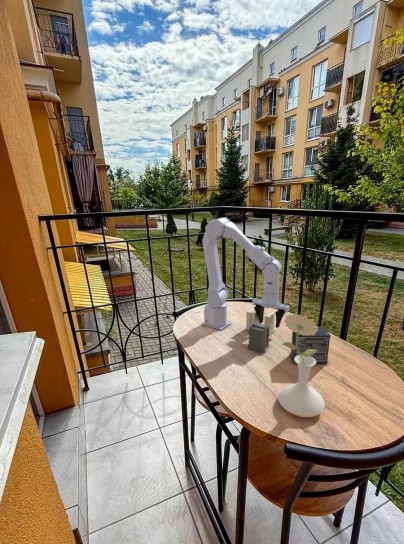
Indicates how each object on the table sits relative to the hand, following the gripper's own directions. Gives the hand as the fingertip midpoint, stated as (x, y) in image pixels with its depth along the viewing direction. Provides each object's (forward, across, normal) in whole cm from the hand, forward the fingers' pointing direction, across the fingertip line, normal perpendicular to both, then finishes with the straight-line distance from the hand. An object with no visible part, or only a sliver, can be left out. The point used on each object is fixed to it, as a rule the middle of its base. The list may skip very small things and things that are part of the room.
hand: (269, 324), depth 111 cm
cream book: (+4, 0, 0) cm, 4 cm away
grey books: (+4, +2, -12) cm, 13 cm away
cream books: (+3, -7, 0) cm, 8 cm away
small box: (+4, +19, -10) cm, 22 cm away
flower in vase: (+4, +24, -33) cm, 41 cm away
